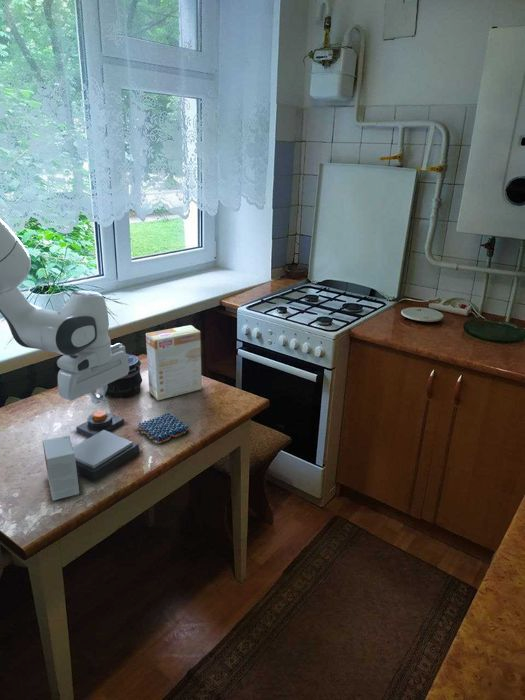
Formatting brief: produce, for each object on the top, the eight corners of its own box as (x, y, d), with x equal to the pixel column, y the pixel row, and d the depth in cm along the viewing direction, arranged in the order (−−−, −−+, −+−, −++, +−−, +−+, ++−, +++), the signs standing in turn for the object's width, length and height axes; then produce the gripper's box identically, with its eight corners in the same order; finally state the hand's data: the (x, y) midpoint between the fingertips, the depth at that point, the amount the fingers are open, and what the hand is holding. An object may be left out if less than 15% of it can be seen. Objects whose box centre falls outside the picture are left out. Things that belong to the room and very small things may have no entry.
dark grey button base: (95, 439, 127) (93, 429, 125) (76, 431, 130) (75, 421, 129) (124, 423, 135) (123, 413, 133) (106, 416, 138) (105, 406, 137)
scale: (94, 481, 111) (93, 469, 109) (59, 464, 116) (57, 452, 115) (139, 452, 122) (138, 441, 121) (105, 438, 127) (104, 426, 126)
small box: (48, 480, 111) (41, 439, 107) (74, 474, 113) (69, 434, 109) (52, 501, 104) (45, 459, 100) (80, 494, 106) (74, 453, 103)
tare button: (99, 423, 129) (98, 417, 129) (90, 419, 131) (90, 414, 130) (108, 417, 132) (108, 412, 131) (100, 414, 133) (99, 409, 133)
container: (115, 378, 161) (113, 350, 157) (150, 384, 157) (148, 355, 153) (91, 395, 149) (87, 364, 146) (128, 402, 146) (126, 371, 142)
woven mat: (169, 417, 138) (169, 410, 138) (191, 432, 131) (191, 425, 130) (135, 429, 132) (135, 422, 131) (157, 446, 125) (156, 439, 124)
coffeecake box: (192, 381, 160) (190, 324, 153) (202, 389, 155) (201, 331, 148) (148, 391, 152) (144, 332, 145) (157, 401, 147) (154, 339, 140)
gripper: (115, 338, 134) (119, 384, 139) (50, 363, 118) (58, 414, 123) (132, 343, 131) (136, 390, 136) (68, 369, 115) (75, 421, 120)
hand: (98, 401), depth 130 cm, fingers closed
